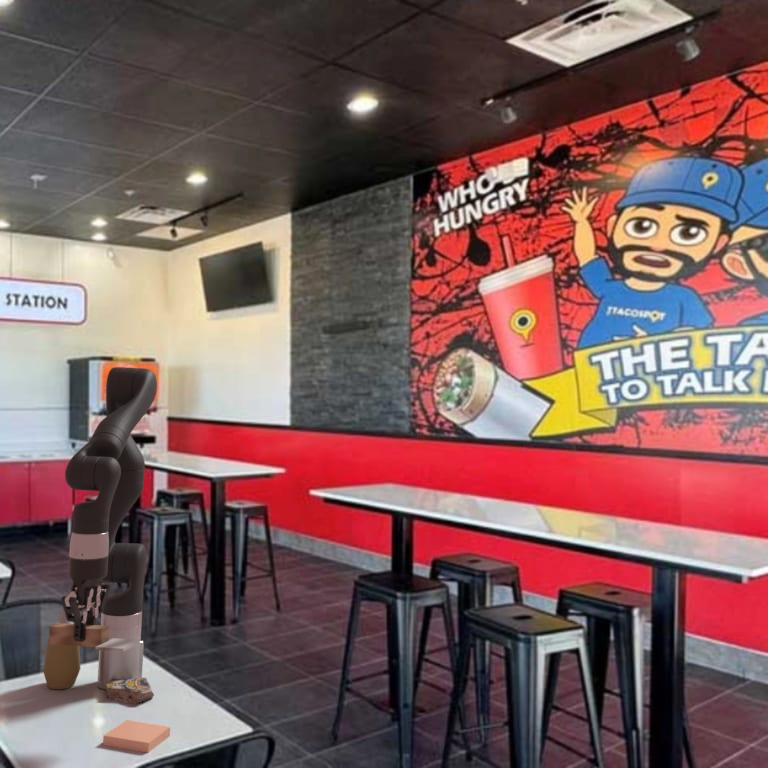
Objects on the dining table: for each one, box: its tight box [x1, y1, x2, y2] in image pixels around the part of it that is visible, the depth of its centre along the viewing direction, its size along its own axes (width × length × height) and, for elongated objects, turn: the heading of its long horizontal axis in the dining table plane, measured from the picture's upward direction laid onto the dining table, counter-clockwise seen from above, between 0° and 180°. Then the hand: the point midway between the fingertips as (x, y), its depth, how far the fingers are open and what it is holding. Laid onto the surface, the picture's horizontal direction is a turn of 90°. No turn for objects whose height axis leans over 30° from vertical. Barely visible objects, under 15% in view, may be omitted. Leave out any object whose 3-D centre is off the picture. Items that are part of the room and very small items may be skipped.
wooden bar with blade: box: [48, 622, 140, 652], centre depth 157 cm, size 18×6×4 cm, turn 77°
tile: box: [102, 719, 171, 753], centre depth 154 cm, size 2×8×10 cm
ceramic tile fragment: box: [106, 677, 155, 705], centre depth 177 cm, size 12×3×10 cm
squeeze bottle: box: [42, 608, 81, 690], centre depth 181 cm, size 8×8×18 cm
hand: (84, 638), depth 158 cm, fingers closed on wooden bar with blade, 2 cm apart
